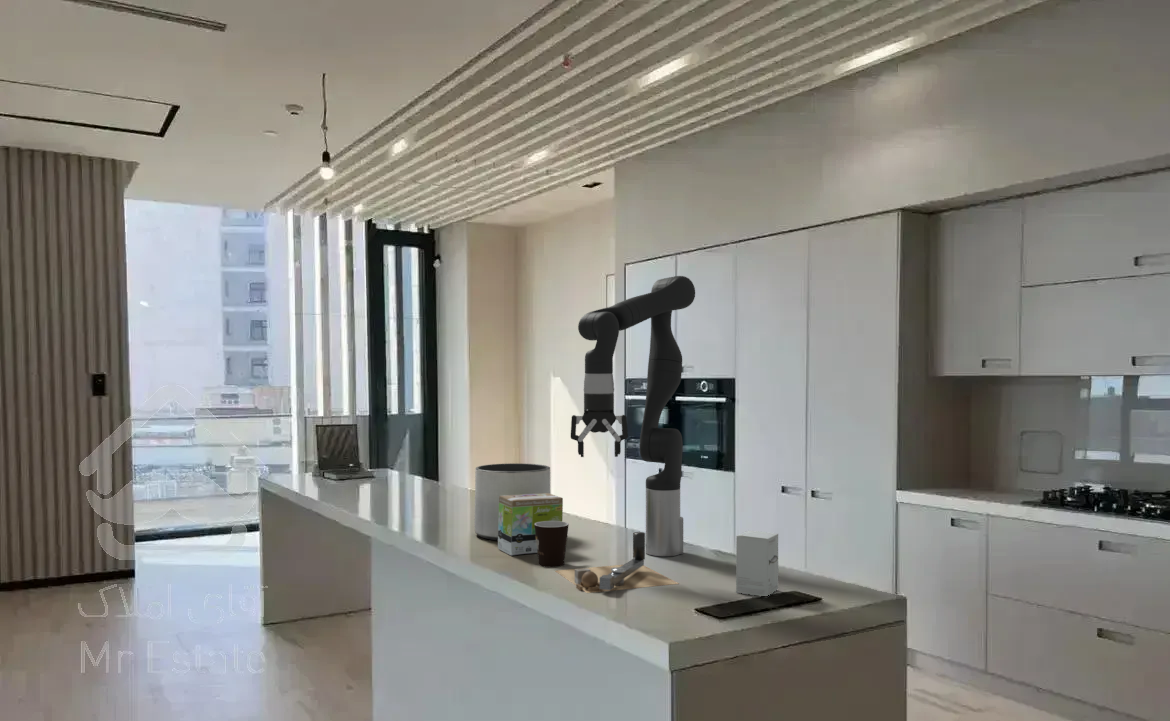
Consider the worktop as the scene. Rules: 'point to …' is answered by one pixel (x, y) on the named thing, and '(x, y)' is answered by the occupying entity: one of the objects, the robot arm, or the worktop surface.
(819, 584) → the worktop surface
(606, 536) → the worktop surface
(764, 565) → the supplement box
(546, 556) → the coffee mug
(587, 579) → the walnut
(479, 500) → the planter
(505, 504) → the tea box
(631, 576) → the press base
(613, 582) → the lever
